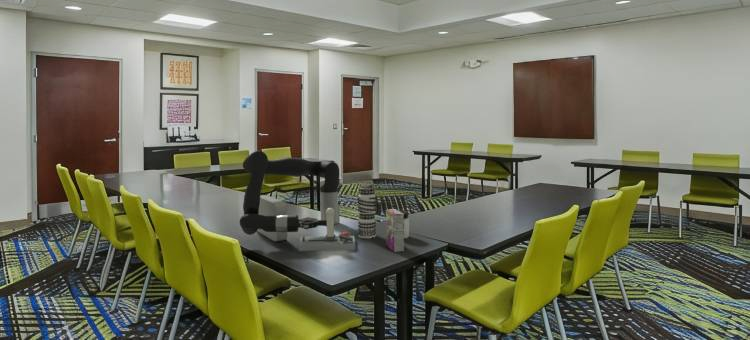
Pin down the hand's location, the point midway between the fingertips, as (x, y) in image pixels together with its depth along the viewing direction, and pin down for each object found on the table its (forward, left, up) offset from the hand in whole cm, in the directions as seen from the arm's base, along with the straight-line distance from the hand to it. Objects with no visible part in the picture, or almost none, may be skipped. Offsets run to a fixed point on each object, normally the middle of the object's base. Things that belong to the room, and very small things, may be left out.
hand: (326, 222), depth 207 cm
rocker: (-4, +8, -6) cm, 11 cm away
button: (-9, +2, -8) cm, 12 cm away
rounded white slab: (+8, -34, -11) cm, 36 cm away
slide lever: (-1, +1, -7) cm, 8 cm away
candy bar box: (-18, +24, -11) cm, 32 cm away
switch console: (0, 0, -10) cm, 10 cm away
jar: (-34, +12, -11) cm, 38 cm away
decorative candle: (-24, 0, -11) cm, 26 cm away
